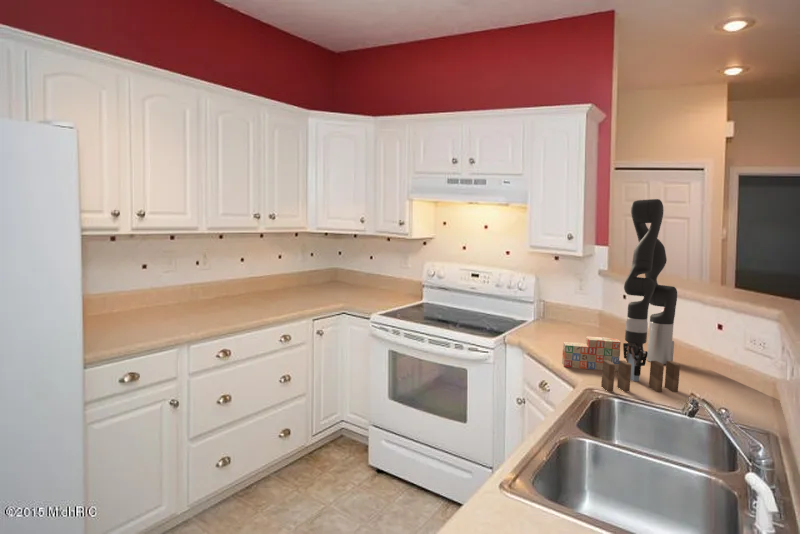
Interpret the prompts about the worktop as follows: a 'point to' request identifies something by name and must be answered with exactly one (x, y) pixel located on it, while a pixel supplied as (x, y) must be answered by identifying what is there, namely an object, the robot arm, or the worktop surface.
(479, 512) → the worktop surface
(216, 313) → the worktop surface
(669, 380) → the domino
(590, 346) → the stack of blocks
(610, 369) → the domino end
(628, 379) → the domino
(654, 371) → the domino
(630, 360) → the domino
